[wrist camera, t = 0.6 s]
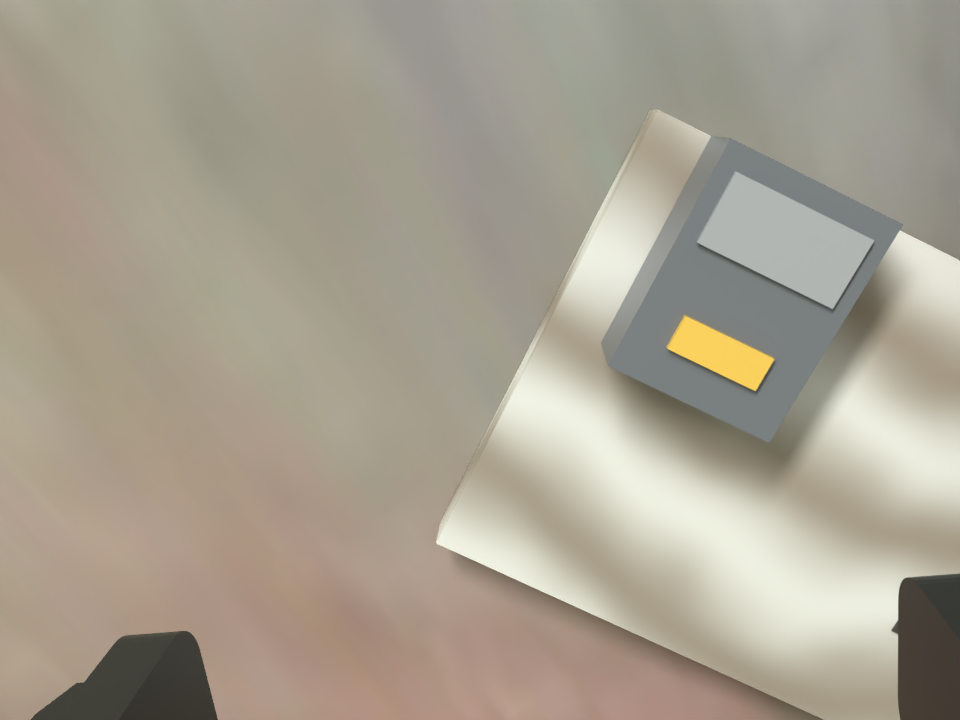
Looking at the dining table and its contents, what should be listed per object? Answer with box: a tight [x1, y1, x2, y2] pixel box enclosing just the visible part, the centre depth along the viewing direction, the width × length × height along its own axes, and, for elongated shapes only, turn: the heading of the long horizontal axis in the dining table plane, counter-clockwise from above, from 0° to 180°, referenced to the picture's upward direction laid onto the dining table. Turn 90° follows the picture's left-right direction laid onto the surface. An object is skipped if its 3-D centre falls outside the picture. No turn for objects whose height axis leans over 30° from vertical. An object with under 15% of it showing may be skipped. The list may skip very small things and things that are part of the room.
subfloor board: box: [436, 110, 960, 720], centre depth 33 cm, size 18×23×2 cm
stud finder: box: [601, 136, 903, 443], centre depth 29 cm, size 8×6×3 cm
